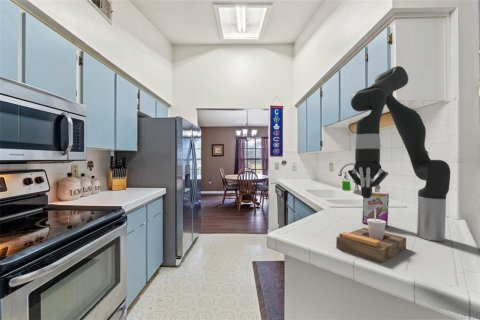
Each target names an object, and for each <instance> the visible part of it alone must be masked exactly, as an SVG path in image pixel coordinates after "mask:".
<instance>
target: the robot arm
mask: <svg viewBox="0 0 480 320" xmlns="http://www.w3.org/2000/svg"><path fill="white" fill-rule="evenodd" d="M408 82H409V76H408V73H407V71H406V70H405V68H404V67H402V66H399V65H398V66H394V67H391V68H390V69H388V70H386V71H383V72H381V74H378V75H377V76H376V77H375V78H374V83H372V84H371V85H369V86H368V87H365V88H363V89H360V90H358V91H355V92H354V93H353V95H352V96H351V99H350V106H351V108H352V110H354V111H355V112H368V111H370V113H369V114H368V115H366V116H363V117H360V118H358V119H357V121H356V131H355V132H356V133H355V134H356V136H355V145H354V146H355V149H354V150H355V153H354V155H355V156H354V161H355V163H354V165H353V168H352V169H350V170H347V173H348V175H349V176H350V177H351V179H352V181H354V183H355V184H356V185H358V186H360V187H361V196H362V197H363V198H367V199H368V198H370V197H371V196H372V192H373V188H374V187H378V186H380V184H381V183H382V182H383V180H385V178H386V177H388V176H389V172H388V171H385V170H384V169H382V165H381V137H380V133H381V132H380V131H381V130H380V127H381V125H380V124H381V119H382V114H383V111H384V108H385V106H386V108H387V109H388V112H389V113H390V115H391V118H392V120H393V123H394V125H395V127H396V130H397V132H398V134H399V136H400V138H401V140H402V143H403V145H404V147H405V150H406V152H407V154H408V157H409V160H410V163H411V165H412V166H411V167H412V170H413V172H414V174H415V176H416V177H417V178H418V179H420V180H422V181H425V184H424V185H425V186H424V187H423V188H420V189H419V190H417V219H416V220H417V222H416V223H417V225H416V236H417V237H419V238H421V239H423V240H427V241H428V240H429V241H433V242H444V241H445V240H446V220H447V219H446V218H447V217H446V215H447V213H446V212H447V211H446V210H447V195H448V193H449V190H450V184H451V182H450V181H451V169H450V166H449V164H448V162H446V161H444V160H441V159H431V158H430V155H429V154H428V152H427V149H426V145H425V144H426V135H427V130H426V126H425V124H424V122H423V120H422V118H421V115H420V114H419V113H418V112H417V111H415V110H414V109H412V108H410V107H408V106H407V105H404V103H401V102H400V101H398V99H396V97H395V96H394V95H393V92H396V91H397V90H399V89H402V88H404V87H405V86H406V85H407V84H408ZM376 175H378V176H377V177H376ZM375 177H376V178H375Z"/></svg>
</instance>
